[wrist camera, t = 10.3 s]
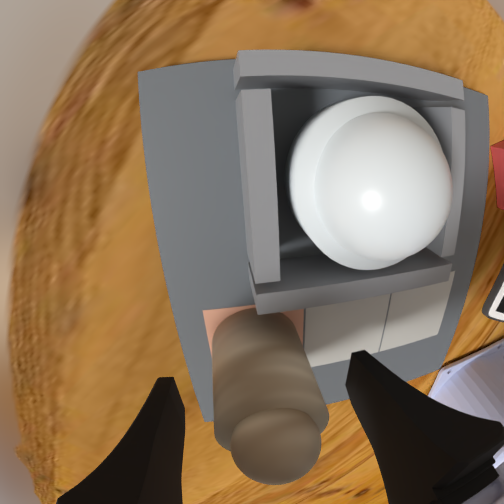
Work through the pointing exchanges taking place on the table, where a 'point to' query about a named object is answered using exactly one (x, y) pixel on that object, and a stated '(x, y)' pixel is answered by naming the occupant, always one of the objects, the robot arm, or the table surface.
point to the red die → (499, 171)
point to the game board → (283, 221)
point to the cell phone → (495, 299)
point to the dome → (368, 182)
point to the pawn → (266, 397)
